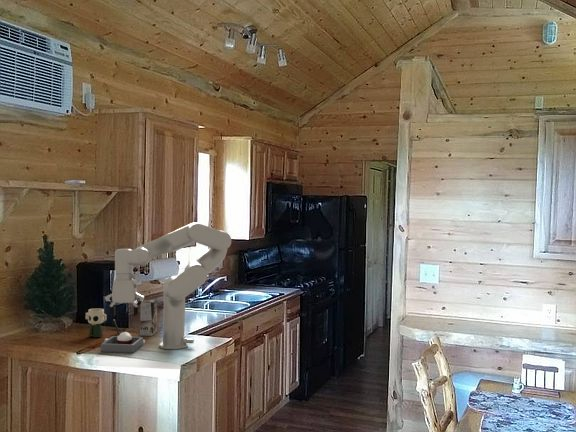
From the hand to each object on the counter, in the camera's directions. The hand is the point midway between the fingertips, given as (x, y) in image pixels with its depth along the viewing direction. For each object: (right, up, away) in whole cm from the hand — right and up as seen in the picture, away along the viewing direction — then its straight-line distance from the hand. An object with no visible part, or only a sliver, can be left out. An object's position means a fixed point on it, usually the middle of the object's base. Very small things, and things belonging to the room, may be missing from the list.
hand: (124, 315), depth 270 cm
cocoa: (0, -14, 0) cm, 14 cm away
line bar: (-3, -14, +10) cm, 17 cm away
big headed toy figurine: (-19, -14, +20) cm, 31 cm away
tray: (-1, -14, 0) cm, 14 cm away
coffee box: (+4, -14, +30) cm, 33 cm away
